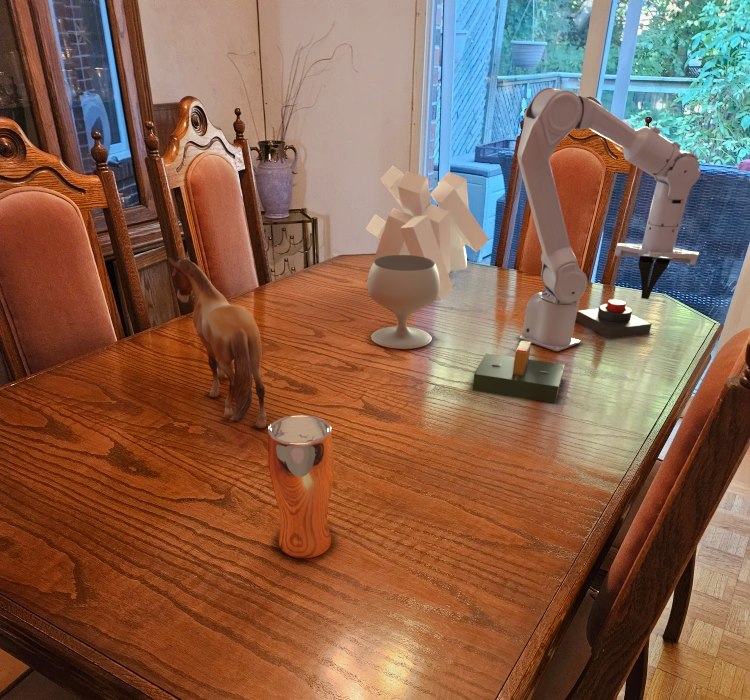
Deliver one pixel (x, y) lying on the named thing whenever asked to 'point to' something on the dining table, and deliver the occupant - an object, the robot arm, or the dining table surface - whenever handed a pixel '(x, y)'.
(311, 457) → the beer glass
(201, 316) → the horse figurine
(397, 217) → the pile of blocks
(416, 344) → the chalice
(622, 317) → the switch block
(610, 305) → the red button
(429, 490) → the dining table surface
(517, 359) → the upright orange tab
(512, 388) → the switch panel
